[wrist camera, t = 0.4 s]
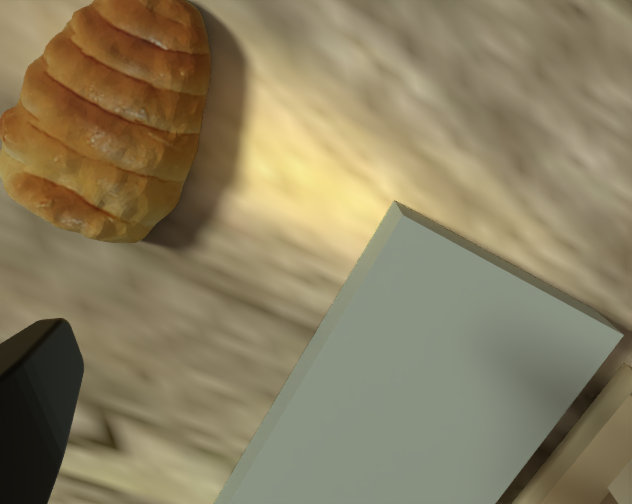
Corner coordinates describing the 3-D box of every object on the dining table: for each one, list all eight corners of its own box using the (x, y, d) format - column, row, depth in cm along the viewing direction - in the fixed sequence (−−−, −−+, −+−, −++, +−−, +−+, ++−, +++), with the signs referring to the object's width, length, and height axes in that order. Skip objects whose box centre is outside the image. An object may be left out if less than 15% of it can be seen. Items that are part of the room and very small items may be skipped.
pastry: (96, -55, 22) (52, -79, 18) (261, 41, 23) (251, 36, 19) (5, 170, 24) (-51, 189, 20) (157, 248, 25) (130, 279, 21)
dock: (392, 585, 30) (398, 630, 28) (212, 506, 29) (202, 546, 26) (595, 310, 25) (624, 335, 23) (394, 200, 24) (402, 214, 22)
